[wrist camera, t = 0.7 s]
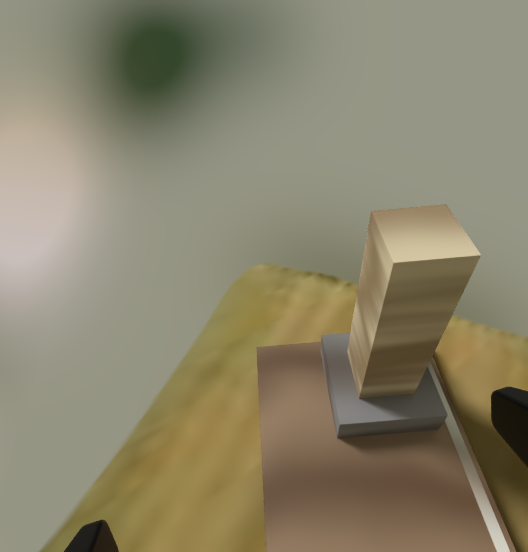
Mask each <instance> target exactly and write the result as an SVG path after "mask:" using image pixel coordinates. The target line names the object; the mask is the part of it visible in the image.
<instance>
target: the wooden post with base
mask: <svg viewBox="0 0 528 552" xmlns="http://www.w3.org/2000/svg"><path fill="white" fill-rule="evenodd" d="M480 256H481V254H480V253H479V251H478V250H477V249H476V247H475V246H474V244H473V243H472V241H471V240H470V239H469V237H468V235H467V234H466V233H465V231H464V230H463V228H462V227H461V225H460V224H459V222H458V221H457V219H456V218H455V217H454V215H453V214H452V212H451V211H450V209H449V208H448V206H447V205H446V204H444V205H433V206H422V207H410V208H399V209H390V210H389V209H388V210H377V211H371V215H370V221H369V227H368V233H367V239H366V245H365V250H364V256H363V262H362V268H361V274H360V280H359V286H358V291H357V297H356V303H355V309H354V315H353V321H352V327H351V333H341V334H330V335H322V341H321V356H322V361H323V366H324V372H325V377H326V382H327V387H328V393H329V398H330V403H331V409H332V414H333V419H334V425H335V430H336V435H337V438H345V437H357V436H369V435H382V434H394V433H406V432H418V431H430V430H438V429H439V428H440V426H441V425H442V424H443V422H444V421H445V419H446V418H447V416H448V415H447V412H446V410H445V407H444V405H443V402H442V400H441V398H440V395H439V393H438V390H437V388H436V385H435V383H434V380H433V378H432V376H431V373H430V371H429V368H428V364H429V362H430V360H431V358H432V356H433V354H434V352H435V350H436V347H437V345H438V343H439V341H440V339H441V337H442V335H443V333H444V331H445V329H446V327H447V325H448V323H449V320H450V318H451V316H452V314H453V312H454V310H455V308H456V306H457V304H458V302H459V299H460V297H461V295H462V293H463V291H464V289H465V287H466V285H467V283H468V281H469V279H470V277H471V275H472V273H473V271H474V268H475V266H476V264H477V262H478V260H479V258H480Z"/></svg>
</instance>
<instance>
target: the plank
mask: <svg viewBox="0 0 528 552" xmlns="http://www.w3.org/2000/svg"><path fill="white" fill-rule="evenodd" d="M257 366H258V387H259V408H260V429H261V450H262V470H263V491H264V512H265V533H266V552H516V550H515V547H514V545H513V543H512V540H511V538H510V536H509V533H508V531H507V529H506V526H505V524H504V522H503V519H502V517H501V515H500V512H499V510H498V508H497V505H496V503H495V501H494V498H493V496H492V494H491V491H490V489H489V487H488V484H487V482H486V480H485V477H484V475H483V473H482V470H481V468H480V466H479V463H478V461H477V459H476V456H475V454H474V452H473V449H472V447H471V445H470V442H469V440H468V438H467V435H466V433H465V431H464V428H463V426H462V424H461V421H460V419H459V417H458V414H457V412H456V410H455V407H454V405H453V403H452V400H451V398H450V396H449V393H448V391H447V389H446V386H445V384H444V382H443V380H442V377H441V375H440V373H439V370H438V368H437V366H436V363H435V361H434V359H433V356H432V358H431V360H430V362H429V364H428V368H429V371H430V373H431V376H432V378H433V380H434V383H435V385H436V388H437V390H438V393H439V395H440V398H441V400H442V402H443V405H444V407H445V410H446V412H447V415H448V416H447V418H446V419H445V421H444V422H443V424H442V425H441V426H440V428H439V429H438V430H430V431H418V432H406V433H394V434H382V435H369V436H357V437H345V438H337V435H336V430H335V425H334V419H333V414H332V409H331V403H330V398H329V393H328V387H327V382H326V377H325V372H324V366H323V361H322V356H321V342H313V343H302V344H290V345H278V346H267V347H257Z"/></svg>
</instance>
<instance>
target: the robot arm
mask: <svg viewBox="0 0 528 552" xmlns="http://www.w3.org/2000/svg"><path fill="white" fill-rule="evenodd" d="M491 419H492V423H493V426H494V427H495V429H496V431H497V432H498V433H499V434H500V435H501V437H502V438H503V439H504V440H505V441H506V442H507V444H508V445H509V446H510V447H511V448H512V450H513V451H514V452H515V453H516V454H517V455H518V457H519V458H520V459H521V460H522V461H523V463H524V464H525V465H526V466H527V467H528V391H524V390H521V389H517V388H513V387H505V388H502V389H499V390H496V391H494V392H493V393H492V395H491ZM64 552H119V551H118V547H117V544H116V542H115V540H114V537H113V535H112V533H111V531H110V528H109V526H108V524H107V522H106V521H105V520H99V521H96V522H92V523H89V524H86V525H84V526H83V527H82V528H81V529H80V530H79V532H78V533H77V534H76V536H75V537H74V538H73V540H72V541H71V542H70V544H69V545H68V547H67V548H66V549H65V551H64Z"/></svg>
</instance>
